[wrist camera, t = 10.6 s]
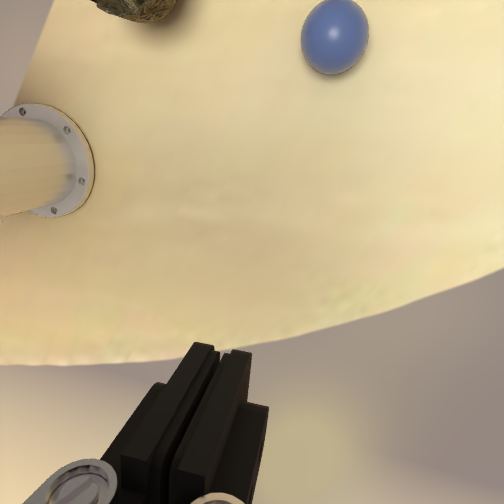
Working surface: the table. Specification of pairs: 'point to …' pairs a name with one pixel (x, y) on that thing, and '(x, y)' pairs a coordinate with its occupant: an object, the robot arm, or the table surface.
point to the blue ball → (334, 36)
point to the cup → (137, 9)
